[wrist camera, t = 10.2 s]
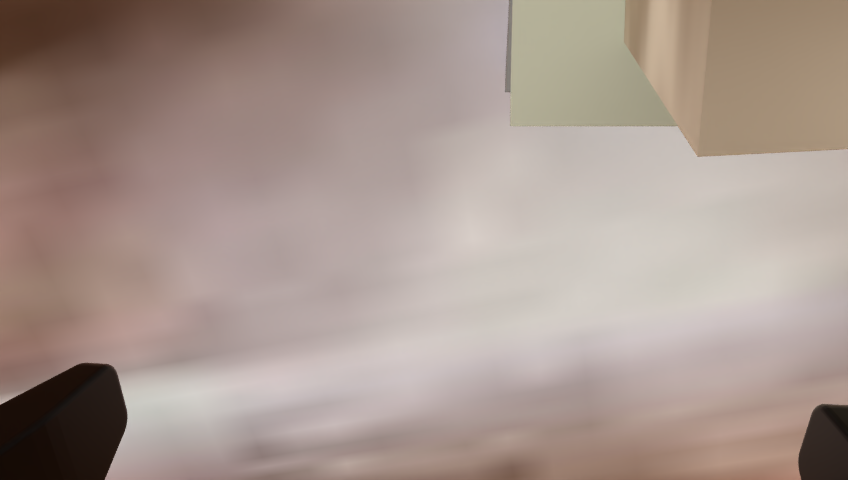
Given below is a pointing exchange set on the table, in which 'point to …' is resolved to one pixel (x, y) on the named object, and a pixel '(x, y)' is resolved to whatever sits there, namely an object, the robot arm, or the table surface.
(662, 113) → the tower top slab
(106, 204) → the table surface
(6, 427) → the robot arm
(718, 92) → the ash cube
